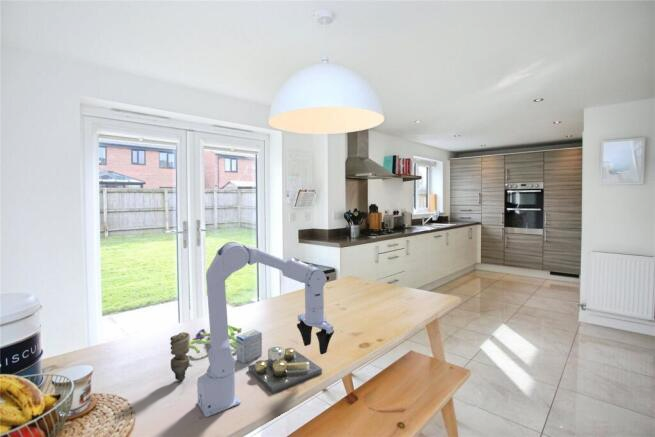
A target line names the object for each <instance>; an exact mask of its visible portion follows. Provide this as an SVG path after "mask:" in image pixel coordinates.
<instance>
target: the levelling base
mask: <svg viewBox="0 0 655 437" xmlns="http://www.w3.org/2000/svg"><path fill="white" fill-rule="evenodd" d="M277 360H285V361H286V362H287V363H300V362H309V369H306V370H292V371H287V373H286V374H284V375H281V376H276V375H274V374H273V362H274V361H277ZM248 372H250V374H251V375H252V376H254V377H255V378H256V379H257V380H258V382H260V383H261V384H262V385H263V386H264V387H265V388H266V389H267V390H268V391H269V392H270V393H271V394H275V393H277V392H279V391H282V390H284V389H286V388H289V387H291V386H294V385H296V384H299V383H301V382H304V381H306V380H309V379H311V378H313V377H315V376H319V375H320V374H322V373H323V368H322V367H321V366H319V365H317V364H316V363H314V362H313V361H312V360H311V359H309V358H307V357H305V356H304V355H303V354H301V353H300V352H298V351H297V350H296V349H295V348H294V347H287V348H285V349H284V347H282V346H273V347H270V348H268V349H267V359H266V360H261V359H260V360H257V361H255V363H254V364H251V365H248Z"/></svg>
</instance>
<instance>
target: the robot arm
mask: <svg viewBox="0 0 655 437" xmlns="http://www.w3.org/2000/svg"><path fill="white" fill-rule="evenodd" d="M247 264H248V265H249V266H253V265H254V264H263V265H265V266H268V267H270V268H273V269H276V270H279V271H281V274H282V275H283V276H284V277H286V278H288V279H291V280H293V281H295V282H298V283H301V284H302V283H304V308H305V311H304V312H305V313H299V314H297V321H298V322H299V323H296V328H297V329H298V330H299V333H300V335H301V338H302V342H303V345H304V346H305V347H307V346H310V345H311V344H312V332H313V328H317V329H320V331H318V332H315V336H316V337H317V342H318V345H319V346H318V348H319V350H318V351H319V353H320V355H324V354H326V353H327V351H328V347H329V345H330V344H329V343H330V341H331V338H332V336H333V335H334V333H335V330H334V325H333V324H331V323H329V321H327V319H326V317H325V311H324V310H325V308H324V307H325V305H324V300H325V299H324V286H325V285H326V284H327V279H328V278H327V277H326V273H325V272H324V270H322V269H320V268H318V267H315V266H314V265H313V264H312V263H308V264H307V263H305V262H303V261H300V258H298V257H296V256H295V257H288V258H286V259H283V258H281V257H279V256H276V255H274V254H271V253H270V252H267V251H265V250H262V249H260V248H257V247H255V246H251V245H247V244H243V243H242V244H240V243H238V242H236V241H229V242H226V243H224V244H223V245H222V246H221V247H220V248H218V250H217V251H216V254H215V256H214V258H213V260H212V261H211V263H210V265H209V266H208V269H207V270H206V272H205V278H206V279H205V280H206V291H207V292H206V294H207V308H208V310H207V311H208V321H209V333H210V336H209V337H210V338H209V340H210V344H209V346H208V348H207V352H206V355H207V359H208V362H209V366H208V368H207V369H206V372H205V373H204V374H203V375H201V376H199V377H198V378H197V380H196V381H197V382H196V384H197V385H196V386H197V401H196V403H197V405H198V408H200V410H201V411H202V413H203V415H204V416H205V417H207V418H208V417H211V416H213V415H215V414H219V412H222V411H225V410H227V409H230V408H232V407H235V406H237V405H240V404H241V400H240V398H238V396H237V395H236V381H235V378H236V374H235V373H236V372H235V370H236V369H235V368H236V359H235V357H234V355H233V354H232V350H231V346H230V338H229V336H228V325H229V323H228V321H229V320H228V309H227V295H226V280H228V278H230V276H231V275H232V274H233V273H235V272H237V271H239V270H241V269H243V268H244V267H246V266H247Z"/></svg>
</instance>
